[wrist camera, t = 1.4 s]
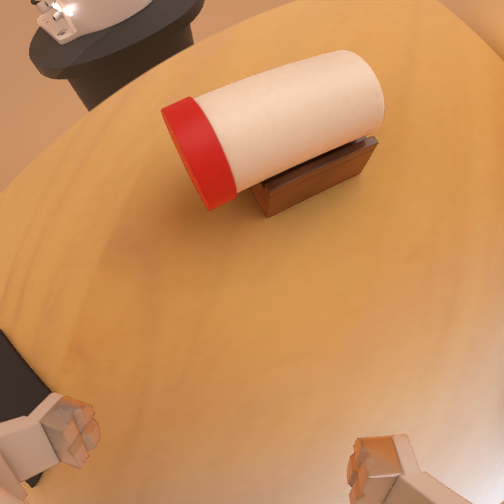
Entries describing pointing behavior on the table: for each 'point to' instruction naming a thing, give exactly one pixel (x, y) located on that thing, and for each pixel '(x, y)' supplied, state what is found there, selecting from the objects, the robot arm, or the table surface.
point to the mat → (18, 388)
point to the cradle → (313, 176)
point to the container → (273, 122)
